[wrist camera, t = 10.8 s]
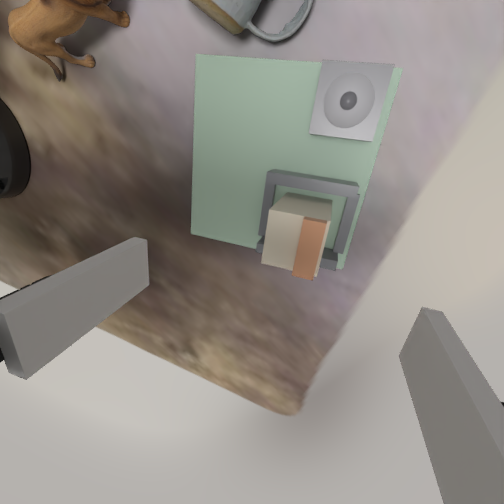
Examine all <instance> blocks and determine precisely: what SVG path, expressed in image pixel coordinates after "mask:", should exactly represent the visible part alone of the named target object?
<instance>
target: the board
mask: <svg viewBox="0 0 504 504" xmlns="http://www.w3.org/2000/svg"><path fill="white" fill-rule="evenodd" d="M321 66H322V63H321V62H307V61H292V60H278V59H263V58H249V57H235V56H220V55H206V54H196V64H195V100H194V137H193V173H192V210H191V234H194V235H198V236H203V237H207V238H211V239H215V240H220V241H224V242H228V243H232V244H237V245H241V246H245V247H250V248H254V249H256V246H257V242H258V241H259V240H260V239H261V237H262V236H259V235H258V232H259V225H260V218H261V211H262V203H263V196H264V189H265V182H266V175H267V171H270V170H272V169H278V170H284V171H291V172H297V173H303V174H309V175H315V176H321V177H327V178H334V179H340V180H346V181H352V182H357V183H358V185H359V190H358V194H360V198H359V201H358V204H357V208H356V211H355V215H354V218H353V221H352V225H351V228H350V232H349V235H348V238H347V242H346V245H345V249H344V252H343V254H340V253H338V263H337V266H336V268H339V269H343V266H344V263H345V260H346V256H347V253H348V250H349V246H350V243H351V240H352V236H353V233H354V230H355V226H356V223H357V220H358V216H359V213H360V210H361V207H362V203H363V200H364V197H365V193H366V190H367V187H368V183H369V180H370V177H371V173H372V170H373V167H374V163H375V160H376V157H377V153H378V150H379V147H380V143H381V140H382V137H383V134H384V130H385V127H386V124H387V120H388V117H389V114H390V110H391V107H392V104H393V100H394V97H395V94H396V90H397V87H398V84H399V80H400V77H401V74H402V70H403V68H394V69H393V73H392V76H391V80H390V83H389V87H388V90H387V93H386V97H385V100H384V104H383V107H382V111H381V114H380V118H379V121H378V125H377V128H376V132H375V135H374V138H373V142H365V141H357V140H349V139H342V138H334V137H326V136H319V135H311V134H309V128H310V123H311V118H312V112H313V107H314V102H315V97H316V92H317V87H318V81H319V76H320V71H321ZM287 192H290V193H296V194H301V195H307V196H313V197H318V198H324V199H329V200H332V212H331V222H330V226H329V230H328V234H327V238H326V242H325V246H324V247H325V248H330V249H333V247H334V244H335V240H336V236H337V233H338V229H339V225H340V222H341V218H342V214H343V211H344V207H345V203H346V200H347V197H343V196H337V195H332V194H326V193H320V192H315V191H309V190H303V189H298V188H292V187H286V186H280V185H276V191H275V198H274V204H275V203H276V202H277V201H279V200H280V199H281V198H282V197H283V196H284V195H285V194H286V193H287ZM274 204H273V205H274Z"/></svg>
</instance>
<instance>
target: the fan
mask: <svg viewBox="0 0 504 504" xmlns="http://www.w3.org/2000/svg"><path fill="white" fill-rule="evenodd" d="M394 66H395V65H394V64H379V63H364V62H349V61H334V60H323V61H322V66H321V71H320V76H319V81H318V87H317V92H316V97H315V102H314V107H313V112H312V118H311V123H310V128H309V134H311V135H319V136H326V137H334V138H342V139H349V140H357V141H365V142H373V138H374V135H375V132H376V128H377V125H378V121H379V118H380V114H381V111H382V107H383V104H384V100H385V97H386V93H387V90H388V87H389V83H390V80H391V76H392V73H393V69H394Z"/></svg>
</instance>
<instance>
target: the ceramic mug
mask: <svg viewBox="0 0 504 504" xmlns="http://www.w3.org/2000/svg"><path fill="white" fill-rule="evenodd" d="M189 1H191V2H192V3H193V4H194V5H196V6H197V7H198V8H199V9H201V10H202V11H203V12H204V13H206V14H207V15H208V16H209V17H211V18H212V19H213V20H215V21H216V22H217V23H219V24H220V25H221V26H222V27H224V28H225V29H226V30H228V31H229V32H230V33H232V34H239V33H241V32H242V31H243V30H244V29H245V28H248V29H249V30H250V31H251V32H252V33H253V34H255V35H256V36H258V37H260V38H262V39H265V40H267V41H273V42H277V41H281V40H284V39H286V38H288V37H290V36H291V35H293V34H294V33H295V32H296V31H297V30H298V28H299V27H300V26H301V25H302V23H303V22H304V20H305V19H306V17H307V16H308V13H309V11H310V9H311V6H312V2H313V0H305V1H304V3H303V5H302V6H301V8H300V9H299V11H298V13H297V14H296V15H295V17H294V18H293V19H292V21H291V22H290V23H287V24H286V25H285V27H284V30H282V31H281V32H280V33H279V34H267V33H266V32H264V31H262V30H260V29H258V28H257V27H256V26H254V25H253V24H252V22H251V20H252V17H253V16H254V14H255V12H256V11H257V9H258V7H259V5H260V3H261V1H262V0H189Z"/></svg>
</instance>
